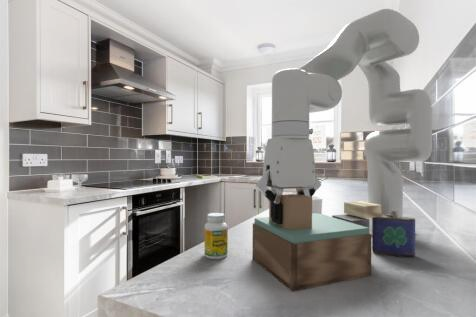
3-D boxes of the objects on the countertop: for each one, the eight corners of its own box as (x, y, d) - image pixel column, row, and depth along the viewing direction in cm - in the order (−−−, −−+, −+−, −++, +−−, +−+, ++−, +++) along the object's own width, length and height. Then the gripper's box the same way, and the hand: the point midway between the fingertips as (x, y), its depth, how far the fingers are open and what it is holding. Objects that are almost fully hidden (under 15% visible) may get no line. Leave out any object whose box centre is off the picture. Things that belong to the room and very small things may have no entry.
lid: (317, 217, 67) (318, 188, 67) (369, 233, 53) (369, 197, 53) (254, 223, 60) (254, 191, 60) (293, 243, 46) (293, 201, 46)
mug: (300, 224, 93) (300, 194, 93) (325, 228, 88) (326, 197, 88) (286, 231, 85) (286, 198, 85) (313, 236, 79) (314, 201, 79)
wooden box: (333, 247, 69) (334, 210, 69) (389, 271, 54) (389, 224, 54) (252, 259, 61) (252, 216, 61) (292, 291, 46) (292, 235, 46)
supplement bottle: (220, 250, 66) (220, 211, 66) (231, 257, 62) (232, 215, 62) (200, 254, 63) (200, 213, 63) (211, 261, 59) (211, 217, 59)
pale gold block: (360, 211, 66) (360, 201, 66) (381, 216, 60) (381, 205, 60) (344, 213, 64) (344, 202, 64) (364, 218, 58) (364, 206, 58)
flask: (413, 254, 65) (413, 209, 65) (417, 258, 62) (418, 211, 62) (371, 250, 67) (371, 207, 67) (373, 254, 64) (373, 209, 64)
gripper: (313, 135, 62) (312, 215, 61) (244, 132, 55) (243, 221, 55) (336, 132, 55) (335, 222, 55) (260, 128, 48) (260, 230, 48)
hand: (289, 220), depth 55 cm, fingers open, 5 cm apart
